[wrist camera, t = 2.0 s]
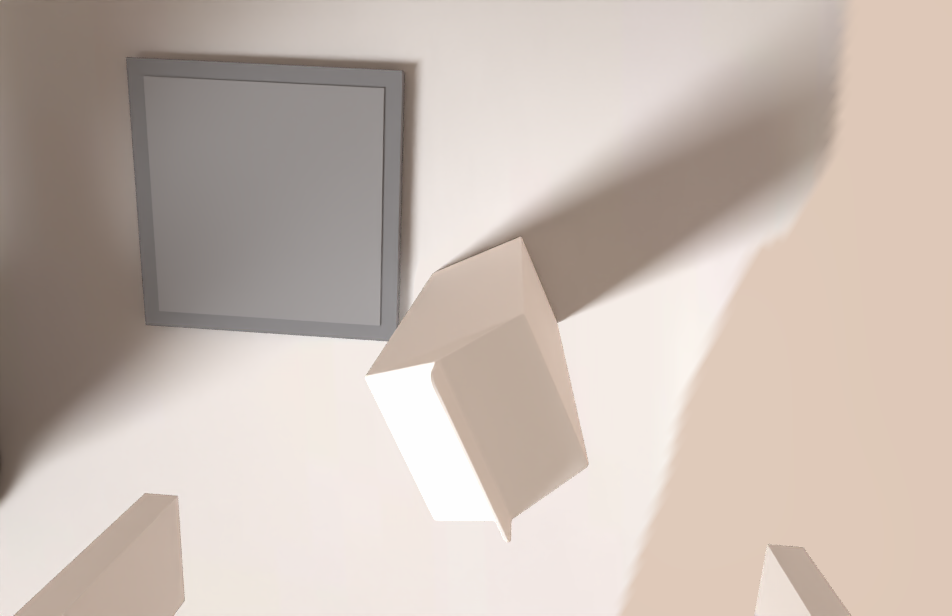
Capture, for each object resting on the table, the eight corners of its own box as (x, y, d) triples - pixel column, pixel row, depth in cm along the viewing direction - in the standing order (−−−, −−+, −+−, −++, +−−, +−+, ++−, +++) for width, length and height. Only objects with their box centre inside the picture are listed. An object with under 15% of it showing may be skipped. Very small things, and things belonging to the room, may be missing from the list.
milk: (521, 235, 40) (529, 334, 19) (558, 324, 41) (606, 514, 20) (429, 273, 41) (337, 410, 19) (469, 360, 42) (422, 579, 21)
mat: (152, 321, 43) (144, 325, 42) (133, 58, 39) (125, 56, 38) (397, 338, 42) (395, 342, 41) (404, 72, 38) (401, 70, 37)
